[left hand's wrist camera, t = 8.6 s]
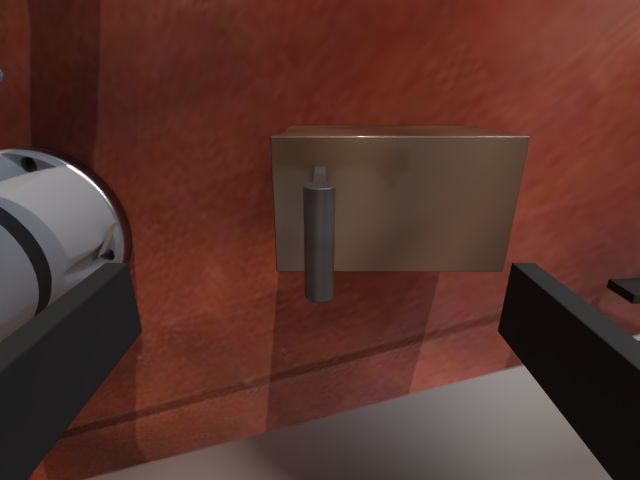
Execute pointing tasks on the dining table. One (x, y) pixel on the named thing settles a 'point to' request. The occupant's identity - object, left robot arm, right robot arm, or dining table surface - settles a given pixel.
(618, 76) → the dining table surface
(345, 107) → the dining table surface
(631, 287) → the right robot arm
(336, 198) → the lid
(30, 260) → the left robot arm
